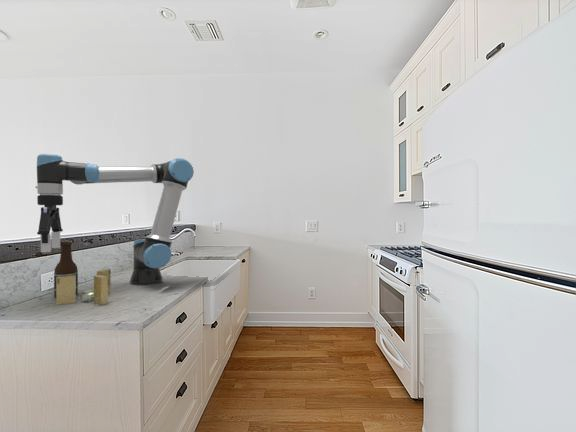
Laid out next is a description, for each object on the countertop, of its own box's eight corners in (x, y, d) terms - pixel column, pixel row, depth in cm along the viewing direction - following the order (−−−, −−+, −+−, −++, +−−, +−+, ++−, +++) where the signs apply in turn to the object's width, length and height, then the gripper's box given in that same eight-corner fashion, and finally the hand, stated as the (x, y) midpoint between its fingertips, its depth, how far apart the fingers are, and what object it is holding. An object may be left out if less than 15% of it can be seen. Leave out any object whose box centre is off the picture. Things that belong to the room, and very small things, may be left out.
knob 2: (101, 296, 118) (101, 271, 118) (96, 296, 118) (96, 271, 118) (110, 292, 123) (110, 268, 123) (105, 292, 123) (105, 268, 123)
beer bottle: (64, 302, 113) (65, 243, 113) (48, 301, 115) (49, 242, 115) (82, 297, 121) (82, 241, 121) (67, 295, 122) (67, 240, 122)
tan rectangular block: (75, 301, 111) (75, 274, 111) (74, 302, 109) (74, 275, 109) (57, 303, 108) (57, 276, 108) (56, 304, 107) (56, 277, 106)
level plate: (121, 293, 127) (121, 281, 127) (120, 306, 109) (120, 293, 109) (63, 299, 117) (63, 287, 117) (50, 316, 98) (50, 301, 98)
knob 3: (93, 302, 109) (93, 276, 109) (100, 301, 111) (100, 274, 111) (101, 305, 106) (101, 277, 106) (107, 303, 108) (107, 276, 108)
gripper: (47, 196, 118) (48, 246, 118) (25, 192, 96) (26, 255, 96) (69, 196, 121) (70, 245, 122) (53, 193, 99) (54, 253, 99)
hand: (51, 250), depth 109 cm, fingers open, 13 cm apart
